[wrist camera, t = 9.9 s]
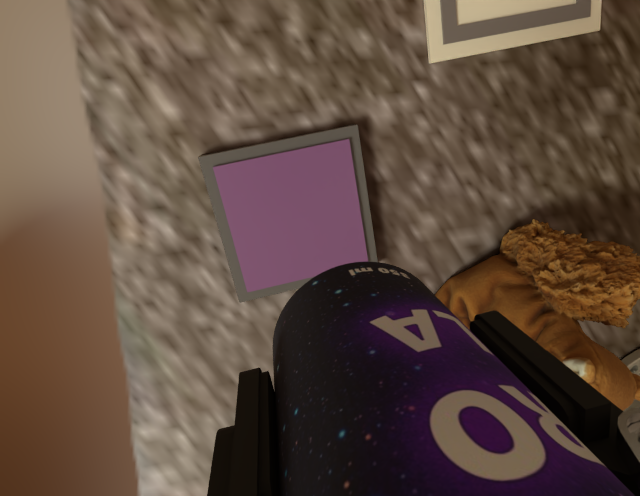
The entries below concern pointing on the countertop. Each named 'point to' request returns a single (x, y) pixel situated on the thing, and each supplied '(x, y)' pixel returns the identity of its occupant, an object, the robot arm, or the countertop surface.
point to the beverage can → (409, 401)
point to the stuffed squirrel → (557, 298)
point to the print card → (503, 24)
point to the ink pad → (290, 209)
